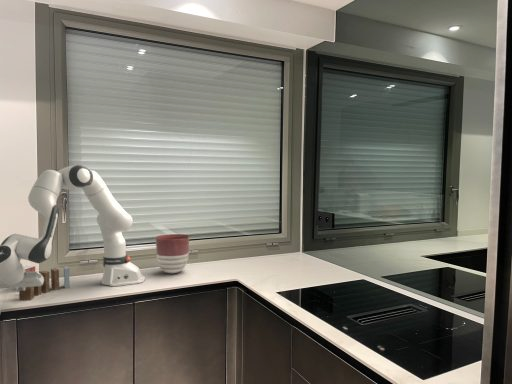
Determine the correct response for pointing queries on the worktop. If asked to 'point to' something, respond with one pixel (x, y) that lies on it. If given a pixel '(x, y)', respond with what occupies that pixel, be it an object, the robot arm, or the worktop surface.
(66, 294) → the worktop surface
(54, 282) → the domino
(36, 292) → the domino
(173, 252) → the planter
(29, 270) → the small box
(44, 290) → the domino
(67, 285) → the domino
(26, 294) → the domino
